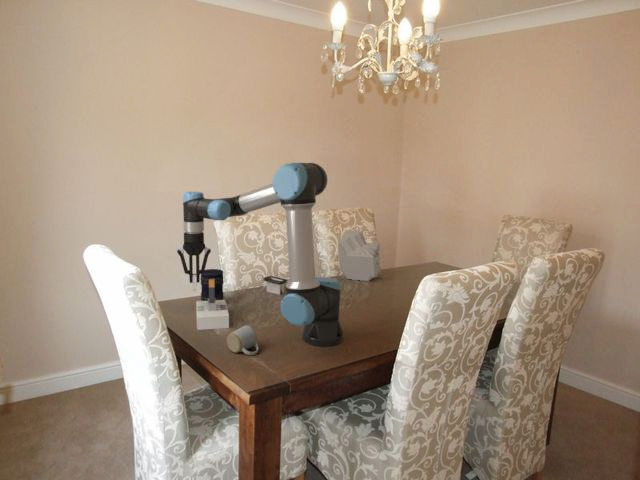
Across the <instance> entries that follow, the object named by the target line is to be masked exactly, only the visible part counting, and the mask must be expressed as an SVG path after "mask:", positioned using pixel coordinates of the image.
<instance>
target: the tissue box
mask: <svg viewBox="0 0 640 480" xmlns="http://www.w3.org/2000/svg"><path fill="white" fill-rule="evenodd" d="M364 237H365V236H364V235H363V231H358V230H345V231H344V232H343V234H342V236H341V238H340V240H339V242H338V243H337V249H338V261H339V263H338V265H339V270H340V272H341V273H342V274H343V276H344V277H345V279H346V278H347V280H348V279H352V280H351V281H358V280H360V282H370V281H371V280H372V279H374V278H375V279H376V278H377V277H378V275H379V274H380V272H381V269H382V266H381V254H380V253H381V252H380V242H379V241H377V242H367V241H366V239H365V238H364ZM369 280H370V281H369Z"/></svg>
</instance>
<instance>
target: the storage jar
mask: <svg viewBox="0 0 640 480" xmlns="http://www.w3.org/2000/svg"><path fill="white" fill-rule="evenodd" d="M209 279H214V298H215V300H224V291H223V290H224V289H223V288H224V286H223V284H224V271H223V270H222V269H217V268H216V269H215V268H209V269H205V271H204V273H201V274H200V285H201V292H200V301H208V298H209Z"/></svg>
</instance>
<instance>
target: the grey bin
mask: <svg viewBox="0 0 640 480" xmlns="http://www.w3.org/2000/svg"><path fill="white" fill-rule="evenodd" d="M268 274H269V272H266V277H263V278H262V279H263V281H264V282H266V292H268V293H272V294H276V295H278V296H279V295H283V294H284V293H285V284H287V283H288V282H289V280H288V279H287V278H286V279H285V278H282V277H277V276H272V275H270V276H268Z"/></svg>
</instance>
